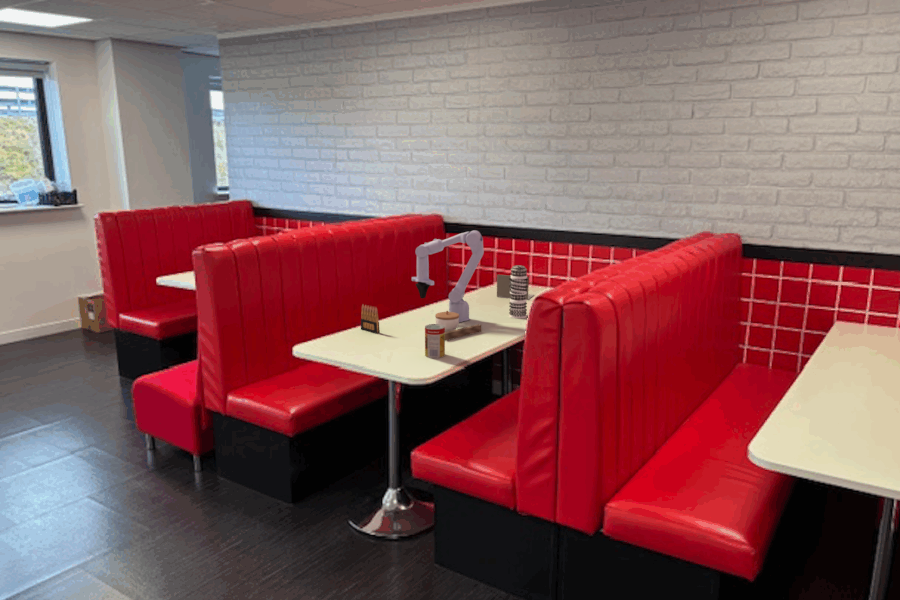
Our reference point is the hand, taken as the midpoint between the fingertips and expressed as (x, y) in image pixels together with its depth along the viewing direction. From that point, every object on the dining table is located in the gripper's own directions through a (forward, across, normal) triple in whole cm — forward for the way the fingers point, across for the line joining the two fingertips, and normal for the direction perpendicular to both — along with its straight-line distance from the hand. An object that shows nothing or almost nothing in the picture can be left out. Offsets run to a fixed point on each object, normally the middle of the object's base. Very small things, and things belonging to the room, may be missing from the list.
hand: (422, 297), depth 330 cm
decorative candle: (+11, +27, +38) cm, 48 cm away
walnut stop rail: (+10, +34, -6) cm, 36 cm away
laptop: (+11, -4, +71) cm, 72 cm away
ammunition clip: (+11, +1, -32) cm, 34 cm away
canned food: (+11, +48, -34) cm, 60 cm away
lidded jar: (+11, +24, -6) cm, 27 cm away
